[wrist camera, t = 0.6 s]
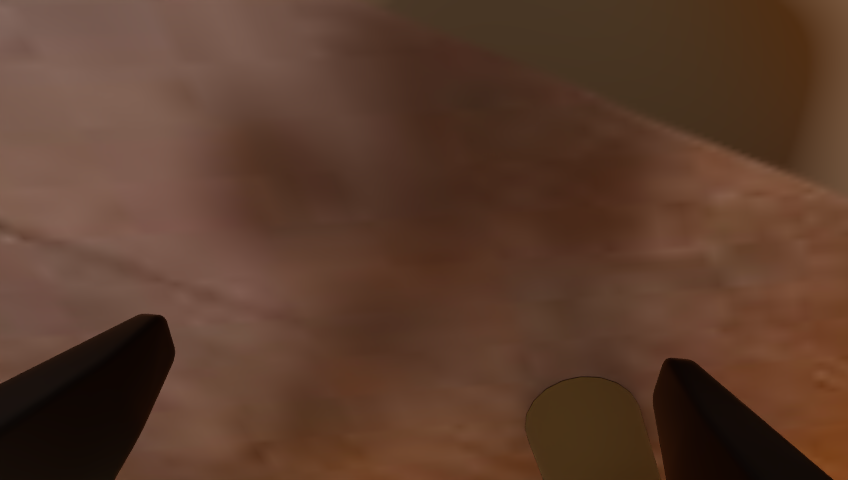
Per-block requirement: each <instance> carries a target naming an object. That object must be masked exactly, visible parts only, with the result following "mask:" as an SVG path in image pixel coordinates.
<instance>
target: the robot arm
mask: <svg viewBox="0 0 848 480" xmlns="http://www.w3.org/2000/svg"><path fill="white" fill-rule="evenodd" d="M174 357H175V347H174V344H173V341H172V337H171V334H170V330H169V327H168V324H167V321H166V319H165V318H164V317H163V316H161V315H153V314H139V315H137V316H135V317H133V318H131V319H129V320H127V321H125V322H123V323H121V324H119V325H117V326H115V327H113V328H111V329H109V330H107V331H105V332H103V333H101V334H99V335H97V336H95V337H93V338H91V339H89V340H87V341H85V342H83V343H81V344H79V345H77V346H75V347H73V348H71V349H69V350H67V351H65V352H63V353H61V354H59V355H57V356H55V357H53V358H51V359H49V360H47V361H45V362H43V363H41V364H39V365H37V366H35V367H33V368H31V369H29V370H27V371H25V372H23V373H21V374H19V375H17V376H15V377H13V378H11V379H9V380H7V381H5V382H3V383H1V384H0V480H115V478H116V476H117V474H118V473H119V471H120V469H121V468H122V466H123V464H124V462H125V461H126V459H127V457H128V455H129V454H130V452H131V450H132V448H133V447H134V445H135V443H136V441H137V439H138V438H139V436H140V434H141V432H142V430H143V428H144V426H145V424H146V421H147V419H148V417H149V415H150V413H151V410H152V408H153V406H154V404H155V401H156V399H157V397H158V395H159V393H160V390H161V388H162V386H163V384H164V381H165V379H166V377H167V375H168V372H169V370H170V368H171V366H172V364H173V361H174ZM653 407H654V413H655V419H656V424H657V430H658V435H659V441H660V447H661V452H662V458H663V464H664V469H665V475H666V480H833V479H832V478H831V477H829V476H828V475H827V474H826V473H825V472H824V471H822V470H821V469H820V468H819V467H818V466H817V465H815V464H814V463H813V462H812V461H811V460H809V459H808V458H807V457H806V456H805V455H804V454H802V453H801V452H800V451H799V450H798V449H797V448H795V447H794V446H793V445H792V444H791V443H789V442H788V441H787V440H786V439H785V438H784V437H782V436H781V435H780V434H779V433H778V432H777V431H775V430H774V429H773V428H772V427H771V426H769V425H768V424H767V423H766V422H765V421H764V420H762V419H761V418H760V417H759V416H758V415H756V414H755V413H754V412H753V411H752V410H751V409H749V408H748V407H747V406H746V405H745V404H744V403H742V402H741V401H740V400H739V399H738V398H736V397H735V396H734V395H733V394H732V393H731V392H729V391H728V390H727V389H726V388H725V387H724V386H722V385H721V384H720V383H719V382H718V381H716V380H715V379H714V378H713V377H712V376H711V375H709V374H708V373H707V372H706V371H705V370H704V369H702V368H701V367H700V366H699V365H698V364H696V363H695V362H694V361H692V360H689V359H678V358H668V359H666V360H665V361H664V363H663V365H662V368H661V371H660V374H659V377H658V380H657V383H656V386H655V389H654V393H653Z"/></svg>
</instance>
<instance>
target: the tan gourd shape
mask: <svg viewBox="0 0 848 480" xmlns="http://www.w3.org/2000/svg"><path fill="white" fill-rule="evenodd" d="M525 430H526V434H527V437H528V441H529V444H530V446H531V449H532V451H533V454H534V457H535V459H536V462H537V464H538V467H539V470H540V472H541V475H542V477H543V480H661V478H660V475H659V471H658V468H657V465H656V461H655V458H654V455H653V451H652V448H651V445H650V441H649V438H648V435H647V431H646V428H645V425H644V421H643V418H642V415H641V411H640V408H639V405H638V403H637V402H636V400H635V399H634V397H633V396H632V394H631V393H630V392H629V391H627V390H626V389H624V388H623V387H622V386H620V385H619V384H617V383H615V382H612V381H609V380H605V379H602V378H594V377H579V378H574V379H570V380H565V381H562V382H560V383H558V384H556V385H554V386H552V387H550V388H548V389H546V390H545V391H544V392H543V393H542V394H541V395H540V396H539V397H538V398H537V399H535V400H534V402H533V404H532V405H531V407H530V409H529V411H528V413H527V416H526V424H525Z"/></svg>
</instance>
